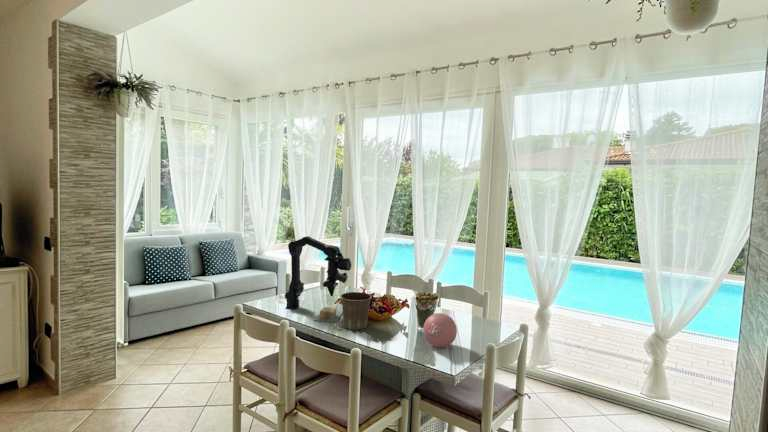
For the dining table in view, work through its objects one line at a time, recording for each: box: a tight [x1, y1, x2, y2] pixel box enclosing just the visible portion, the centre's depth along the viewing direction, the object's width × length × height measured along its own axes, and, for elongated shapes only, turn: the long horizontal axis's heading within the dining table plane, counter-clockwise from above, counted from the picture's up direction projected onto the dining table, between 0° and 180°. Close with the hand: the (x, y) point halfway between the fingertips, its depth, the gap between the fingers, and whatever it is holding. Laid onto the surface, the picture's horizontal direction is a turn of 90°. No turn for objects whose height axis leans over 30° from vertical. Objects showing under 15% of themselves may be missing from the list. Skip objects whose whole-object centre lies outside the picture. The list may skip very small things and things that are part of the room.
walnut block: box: [319, 306, 337, 320], centre depth 223 cm, size 7×4×9 cm
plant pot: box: [340, 291, 373, 331], centre depth 211 cm, size 16×16×16 cm
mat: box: [313, 310, 343, 323], centre depth 226 cm, size 12×18×1 cm, turn 174°
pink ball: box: [422, 312, 458, 349], centre depth 185 cm, size 15×20×15 cm
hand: (331, 296), depth 230 cm, fingers closed
